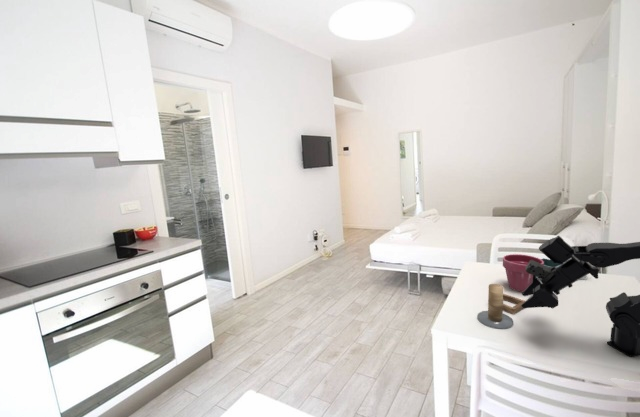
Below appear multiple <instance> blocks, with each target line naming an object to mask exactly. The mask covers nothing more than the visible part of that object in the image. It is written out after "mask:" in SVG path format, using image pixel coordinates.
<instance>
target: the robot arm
mask: <svg viewBox="0 0 640 417" xmlns="http://www.w3.org/2000/svg"><path fill="white" fill-rule="evenodd" d="M538 251H540V252H541V253H542V254H543V255H545V256H546V257H547V259H549V260H551V261H553V262H554V263H558V264H561V263H563V264H562V265H560V266H558V267H554V266H553V267H551V268H548V267H546V266H544V265H542V264H540V263H538V262H536V261H533V260H530V261H529V263H528V264H527V266H526V270H525V271H526V272H527V273H529V274H533V281H532V282H531V284H530V285H529V286H528V287H527V288H526V289H525V290H524V292H521V295H522V296H523V297H528V296H529V297H528V299H525V300H524V301H525V302H524V303H523V304H522V305H521V306H522V307H523V308H524V309H532V308H533V309H534V308H551V309H554V308H556V307H558V306H559V297H558V295H560V294H561V290H564V289H565V288H567V287H568V288H572V287H573V284H574V283H576V282H578V281H580V280H579V279H581V278H582V277H584V276H586V275H587V276H588V275H589V274H590V275H591V276H592V277H593V278H594V279H599V272H600V269H602V268H608V267H612V266H616V265H619V264H622V263H625V262H627V261H631V260H640V241H635V242H628V243H616V242H592V243H589V244H587V245H572V246H571V245H570V244H568V242H566V241H565V240H564V239H563V238H562V236H560V235H557V236H555V237H552V238H550V239H547V240H546V241H544V242H543V243H542V244H540V246H539V247H538ZM570 258H571V259H570ZM567 260H568V261H567ZM564 262H565V263H564ZM587 262H588V263H587ZM599 268H600V269H599ZM605 310H606V312H607V315H608V317H609V319H610V321H611V323H612V327H611V328H610V340H609V341H606V344H607V345H609V346H610V347H612V348H614V349H616V350H618V351H619V352H620V353H623V354H624V355H626V356H628V357H637V356H640V294H638V295H628V294H627V293H626V292H622V293H620V294H618V295H617V296H613V297H609V301H608V302H606V304H605Z"/></svg>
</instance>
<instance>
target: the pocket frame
mask: <svg viewBox="0 0 640 417" xmlns="http://www.w3.org/2000/svg"><path fill="white" fill-rule="evenodd" d="M503 301H506V302H509V303H512V304H514V305H513V306H511V305H507V304H505V303H503V311H504V312H506V313H509V314H511V315H516V314H517V313H519V312H520V311H523V309H525V308H523V307H522V306H521V305H522V304H523V303H524V302H525V301H526V300H524V299H521V298H518V297H515V296H512V295H509V294H505V293H503Z"/></svg>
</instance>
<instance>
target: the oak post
mask: <svg viewBox="0 0 640 417" xmlns="http://www.w3.org/2000/svg"><path fill="white" fill-rule="evenodd" d="M503 294H504V286H503V285H501V284H497V283H490V284H489V285H488V294H487V295H488V297H487V298H488V300H487V301H488V302H487V304H488V306H487V311H488V319H489V320H491V321H494V322H501V321H502V318H503V314H504V312H503V304H504V300H503Z"/></svg>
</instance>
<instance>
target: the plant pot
mask: <svg viewBox="0 0 640 417" xmlns="http://www.w3.org/2000/svg"><path fill="white" fill-rule="evenodd" d="M541 259H542V258H539V257H536V256H533V255H528V254H519V253H514V254H506V255H504V256H503V257H502V267H503V268H504V269H505V273H506V278H507V283H508V286H509V289H512V290H514V291H517V292H519V293H520V292H521V293H523V292H524V290H525V289H526V288H527V287H528V286H529V285H530V284H531V282H532V281H533V274H529V273H527V272H526V271H525V270H526V266H527V264H528V263H529V261H530V260H533V261H536V262H538V263H540V264H542V265H544V262H543V260H541Z"/></svg>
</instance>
